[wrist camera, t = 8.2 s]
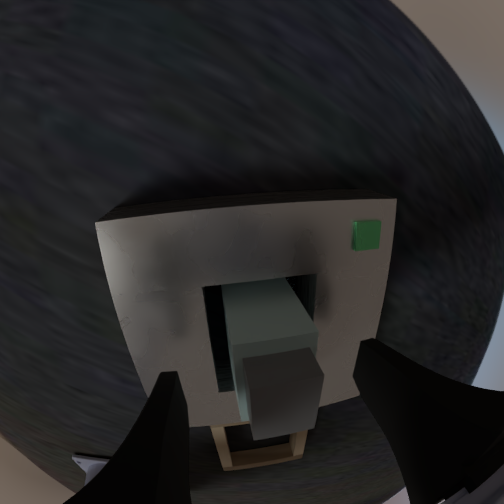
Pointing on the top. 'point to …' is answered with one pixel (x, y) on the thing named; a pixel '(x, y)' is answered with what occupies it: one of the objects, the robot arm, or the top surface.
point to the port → (246, 280)
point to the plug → (272, 357)
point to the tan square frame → (256, 450)
